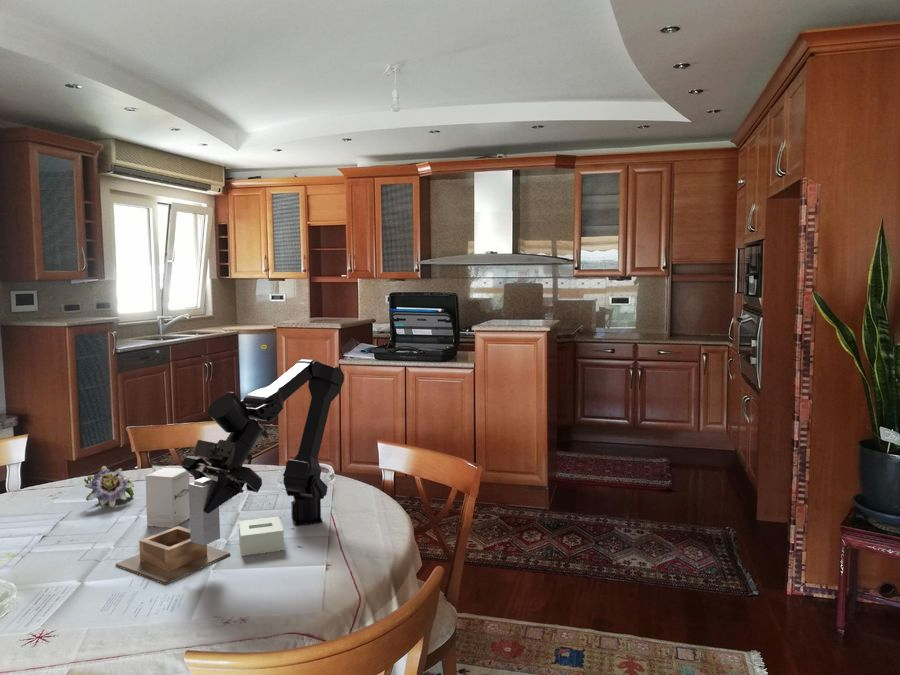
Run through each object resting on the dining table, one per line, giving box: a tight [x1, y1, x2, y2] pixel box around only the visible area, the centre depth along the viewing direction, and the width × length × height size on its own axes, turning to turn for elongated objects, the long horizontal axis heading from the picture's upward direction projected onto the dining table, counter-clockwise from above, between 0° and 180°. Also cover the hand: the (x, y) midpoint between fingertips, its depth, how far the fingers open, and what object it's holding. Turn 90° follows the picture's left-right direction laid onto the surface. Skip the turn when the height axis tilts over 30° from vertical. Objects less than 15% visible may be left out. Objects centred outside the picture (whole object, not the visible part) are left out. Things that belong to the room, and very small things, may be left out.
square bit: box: [188, 477, 221, 546], centre depth 134 cm, size 4×4×13 cm
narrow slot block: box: [238, 516, 285, 557], centre depth 148 cm, size 9×9×4 cm
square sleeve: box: [115, 525, 231, 585], centre depth 140 cm, size 16×16×5 cm
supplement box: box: [145, 467, 191, 529], centre depth 161 cm, size 7×7×13 cm
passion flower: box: [83, 465, 135, 509], centre depth 175 cm, size 11×11×12 cm
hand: (198, 510), depth 132 cm, fingers closed on square bit, 4 cm apart
